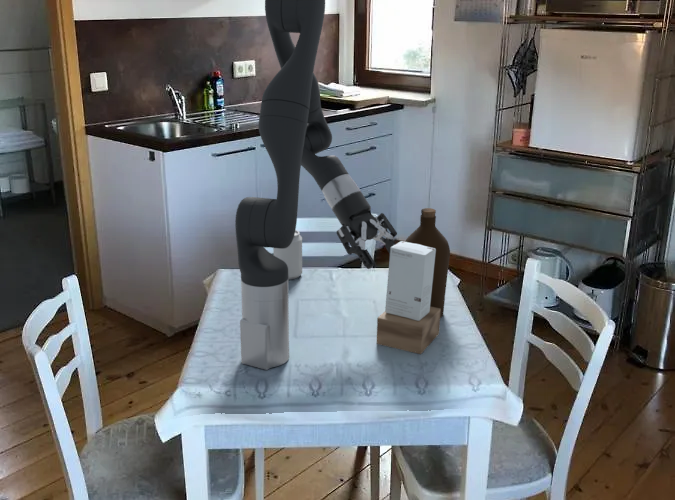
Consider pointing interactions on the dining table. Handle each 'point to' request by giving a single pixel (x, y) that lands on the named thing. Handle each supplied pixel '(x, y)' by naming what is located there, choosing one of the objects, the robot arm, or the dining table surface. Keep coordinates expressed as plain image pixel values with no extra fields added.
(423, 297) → the skincare box
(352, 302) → the dining table surface
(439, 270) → the olive oil
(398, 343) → the walnut block
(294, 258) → the can
